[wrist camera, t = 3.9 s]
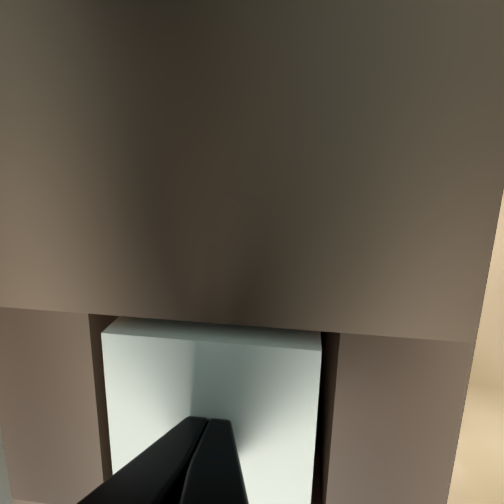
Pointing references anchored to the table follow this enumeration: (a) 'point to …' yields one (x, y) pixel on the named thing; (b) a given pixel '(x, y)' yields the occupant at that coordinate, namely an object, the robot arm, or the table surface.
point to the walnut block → (250, 215)
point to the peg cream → (218, 394)
